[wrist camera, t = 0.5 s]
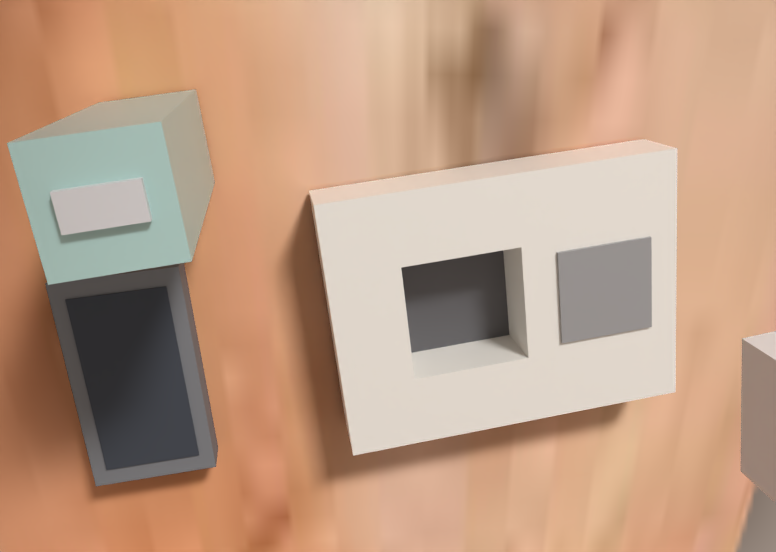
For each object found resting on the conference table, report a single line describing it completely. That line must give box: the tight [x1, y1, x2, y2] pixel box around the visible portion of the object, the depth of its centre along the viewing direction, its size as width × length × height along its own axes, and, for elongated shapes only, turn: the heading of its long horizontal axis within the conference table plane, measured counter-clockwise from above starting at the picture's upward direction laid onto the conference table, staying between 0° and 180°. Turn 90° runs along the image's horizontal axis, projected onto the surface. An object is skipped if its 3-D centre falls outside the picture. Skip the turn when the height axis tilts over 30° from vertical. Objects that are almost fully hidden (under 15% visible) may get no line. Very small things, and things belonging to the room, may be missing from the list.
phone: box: [45, 263, 218, 486], centre depth 34 cm, size 10×6×2 cm, turn 5°
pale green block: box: [7, 89, 215, 285], centre depth 26 cm, size 4×4×12 cm
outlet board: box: [309, 139, 677, 456], centre depth 35 cm, size 12×16×3 cm
